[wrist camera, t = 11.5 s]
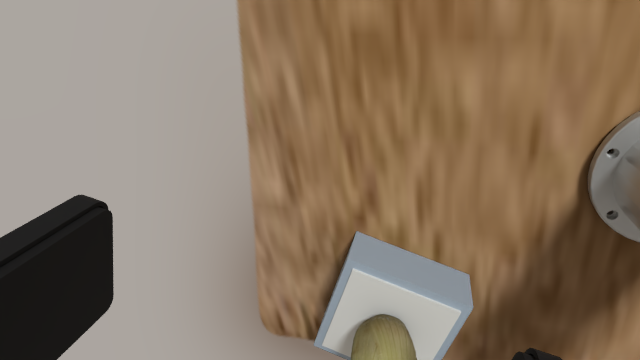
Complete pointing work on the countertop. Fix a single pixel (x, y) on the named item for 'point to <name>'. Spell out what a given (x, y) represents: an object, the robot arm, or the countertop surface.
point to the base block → (395, 298)
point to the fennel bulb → (383, 340)
